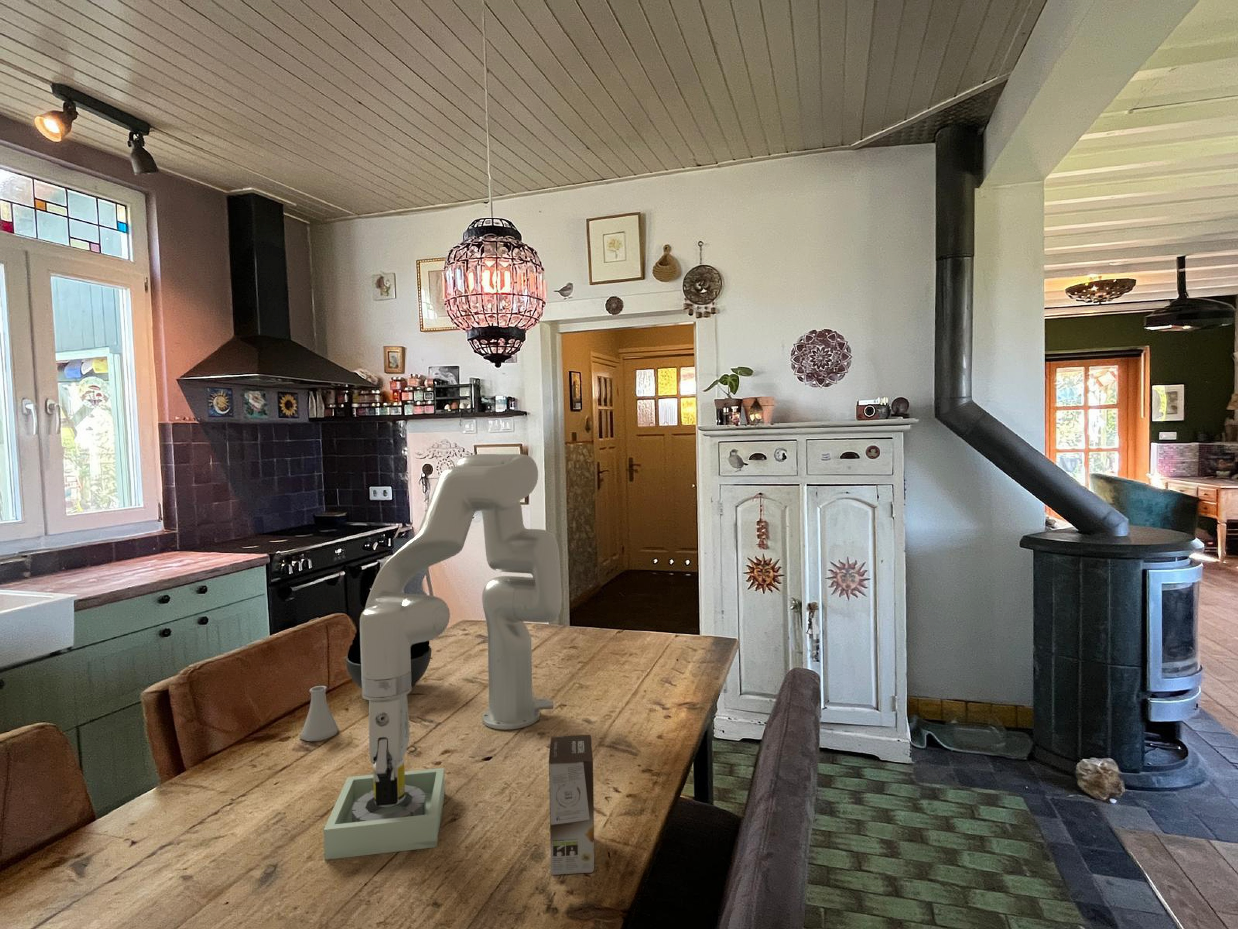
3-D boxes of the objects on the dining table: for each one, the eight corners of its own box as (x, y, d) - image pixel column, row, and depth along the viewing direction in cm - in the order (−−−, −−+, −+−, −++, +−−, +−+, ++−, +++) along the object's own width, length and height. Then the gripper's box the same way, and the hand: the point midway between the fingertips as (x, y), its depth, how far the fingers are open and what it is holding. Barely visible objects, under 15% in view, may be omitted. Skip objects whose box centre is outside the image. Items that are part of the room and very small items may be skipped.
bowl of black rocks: (335, 691, 168) (333, 616, 167) (414, 673, 180) (412, 603, 179) (362, 716, 152) (359, 633, 151) (445, 694, 164) (443, 618, 164)
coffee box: (595, 873, 95) (594, 761, 95) (550, 876, 95) (548, 764, 94) (592, 835, 104) (591, 733, 104) (551, 838, 104) (549, 735, 103)
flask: (324, 744, 138) (322, 695, 138) (292, 741, 140) (291, 693, 139) (345, 729, 145) (343, 683, 145) (315, 726, 147) (313, 681, 146)
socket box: (444, 793, 118) (444, 767, 118) (436, 847, 102) (435, 817, 102) (348, 803, 115) (347, 777, 115) (324, 860, 99) (323, 830, 99)
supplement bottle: (397, 789, 112) (396, 739, 112) (410, 800, 108) (409, 748, 108) (369, 800, 109) (367, 748, 108) (381, 811, 105) (380, 758, 105)
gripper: (403, 701, 100) (407, 821, 101) (417, 664, 117) (420, 767, 118) (350, 705, 99) (354, 827, 100) (372, 667, 116) (375, 772, 116)
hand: (389, 793), depth 109 cm, fingers closed on supplement bottle, 4 cm apart
